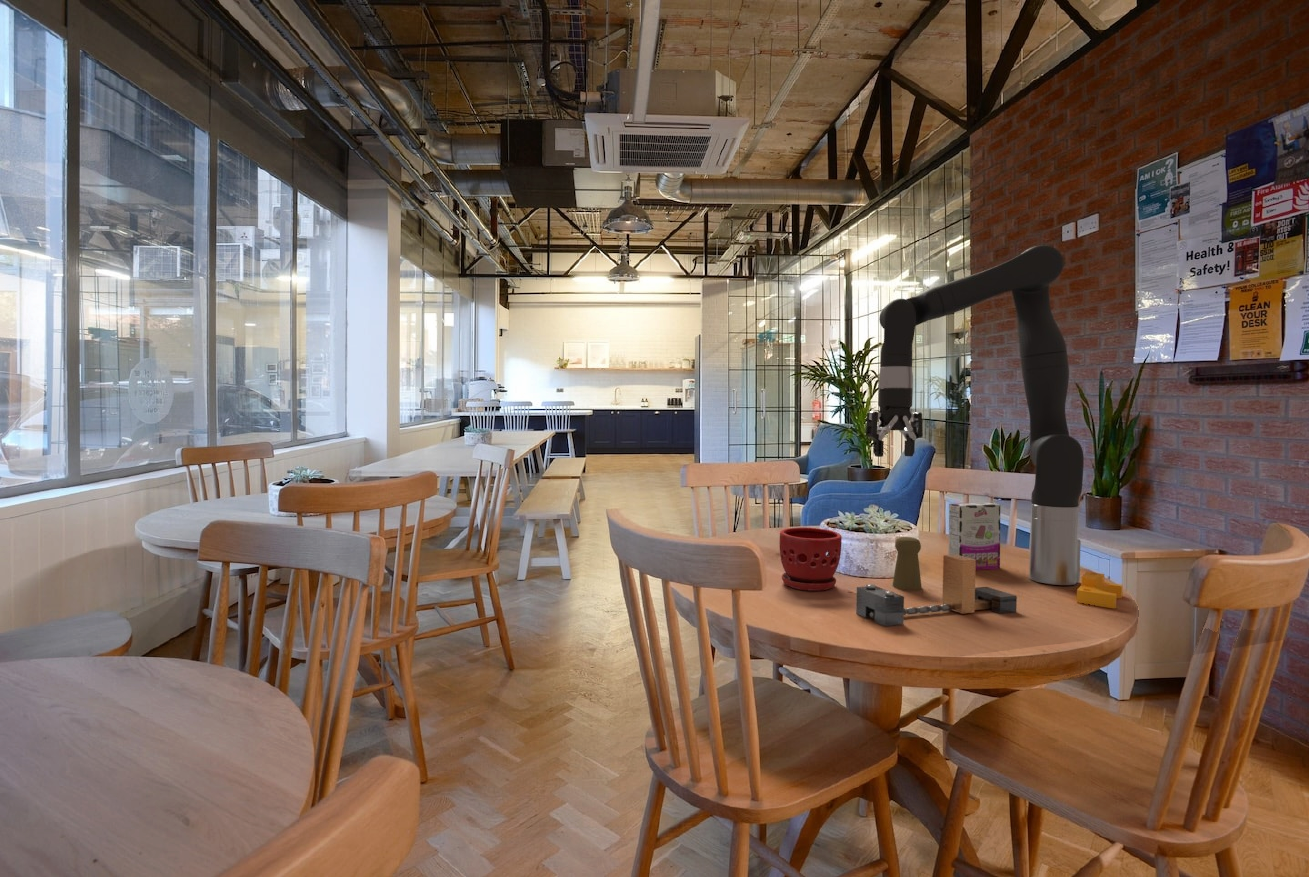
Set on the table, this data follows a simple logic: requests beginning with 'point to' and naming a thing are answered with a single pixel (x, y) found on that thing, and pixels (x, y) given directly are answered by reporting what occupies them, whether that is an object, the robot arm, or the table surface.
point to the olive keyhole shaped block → (907, 564)
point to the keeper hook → (997, 599)
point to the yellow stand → (1098, 591)
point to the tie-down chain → (955, 588)
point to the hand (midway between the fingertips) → (893, 456)
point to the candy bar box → (975, 533)
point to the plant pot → (810, 557)
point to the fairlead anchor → (880, 605)
